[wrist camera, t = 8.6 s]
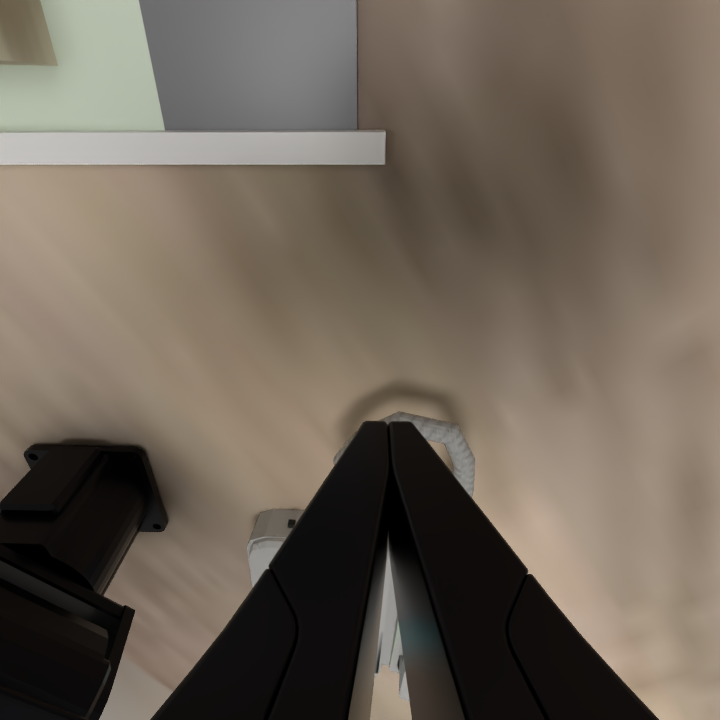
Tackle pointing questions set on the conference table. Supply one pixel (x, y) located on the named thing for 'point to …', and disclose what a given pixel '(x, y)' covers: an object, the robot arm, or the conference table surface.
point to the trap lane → (190, 86)
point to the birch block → (24, 34)
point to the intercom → (389, 651)
